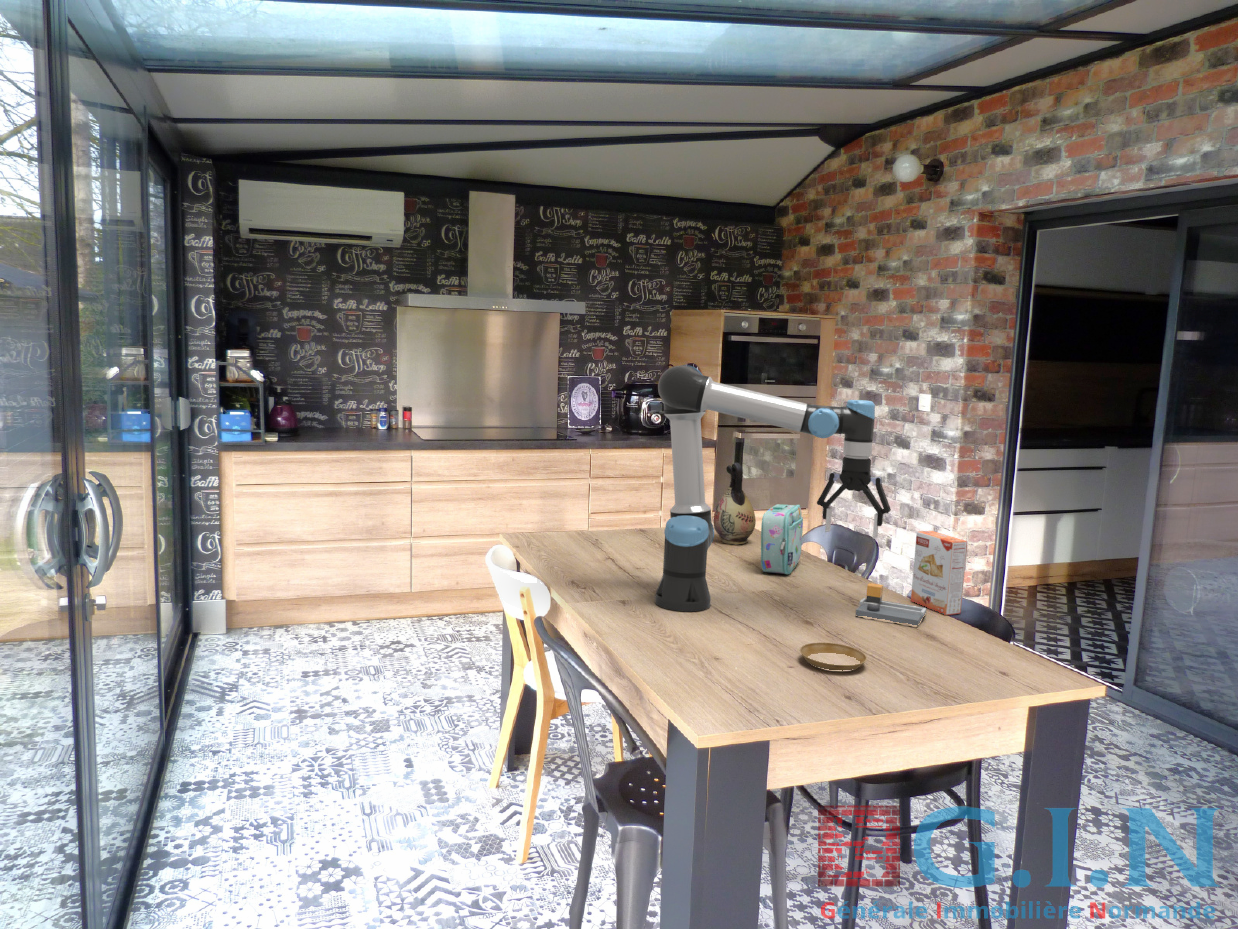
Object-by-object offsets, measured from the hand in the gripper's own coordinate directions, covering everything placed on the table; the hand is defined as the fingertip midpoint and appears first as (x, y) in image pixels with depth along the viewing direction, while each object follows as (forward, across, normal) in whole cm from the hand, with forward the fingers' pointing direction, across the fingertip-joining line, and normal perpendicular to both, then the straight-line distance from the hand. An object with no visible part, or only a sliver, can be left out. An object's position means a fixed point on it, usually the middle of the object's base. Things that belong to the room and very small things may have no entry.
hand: (851, 534), depth 243 cm
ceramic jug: (+21, +55, -60) cm, 84 cm away
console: (+21, -13, +1) cm, 24 cm away
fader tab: (+18, -8, 0) cm, 20 cm away
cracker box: (+21, -22, -15) cm, 33 cm away
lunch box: (+21, +29, -32) cm, 48 cm away
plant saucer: (+21, -8, +48) cm, 53 cm away
